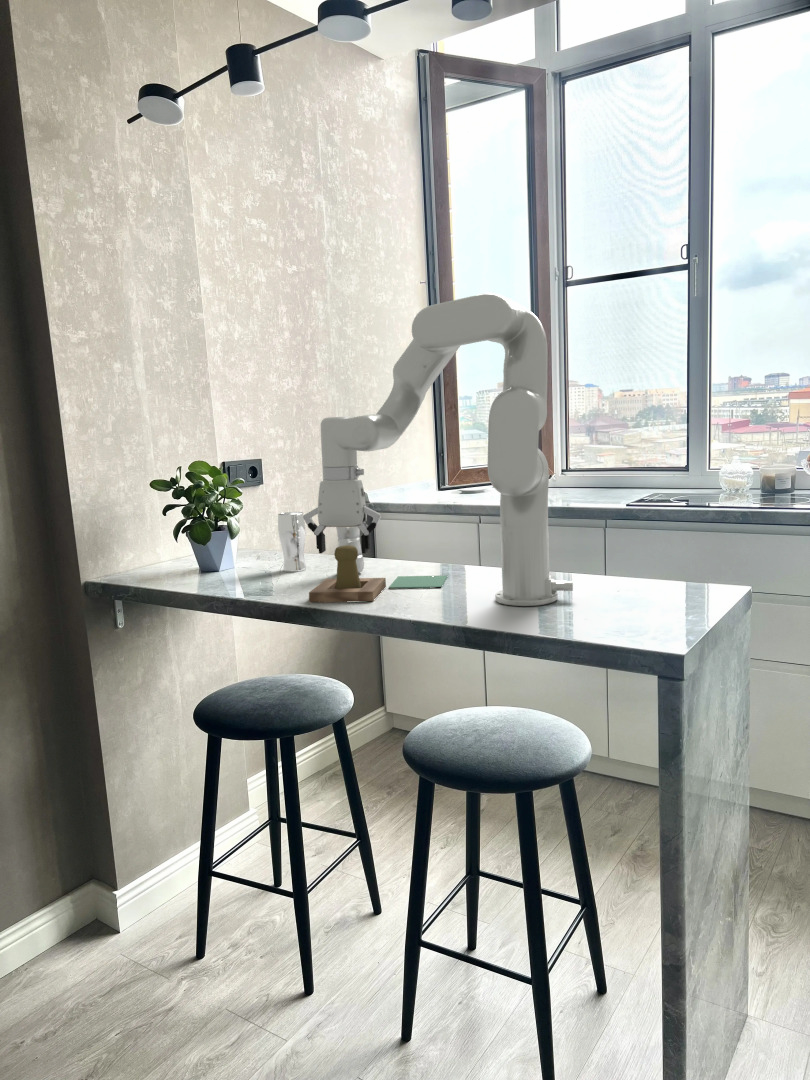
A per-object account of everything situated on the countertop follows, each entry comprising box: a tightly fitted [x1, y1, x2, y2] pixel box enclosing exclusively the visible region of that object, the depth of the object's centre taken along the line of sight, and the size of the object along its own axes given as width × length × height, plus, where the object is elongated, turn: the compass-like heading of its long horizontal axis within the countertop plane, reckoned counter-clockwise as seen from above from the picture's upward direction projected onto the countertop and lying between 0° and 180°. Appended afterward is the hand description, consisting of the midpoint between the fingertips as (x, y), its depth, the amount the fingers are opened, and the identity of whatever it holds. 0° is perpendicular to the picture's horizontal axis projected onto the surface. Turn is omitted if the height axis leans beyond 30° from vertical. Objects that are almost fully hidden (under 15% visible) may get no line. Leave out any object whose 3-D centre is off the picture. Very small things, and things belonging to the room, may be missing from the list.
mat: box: [388, 574, 448, 589], centre depth 183 cm, size 12×12×1 cm
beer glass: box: [277, 511, 307, 573], centre depth 206 cm, size 7×7×15 cm
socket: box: [308, 577, 387, 603], centre depth 174 cm, size 14×14×2 cm
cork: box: [334, 545, 361, 589], centre depth 174 cm, size 6×6×11 cm
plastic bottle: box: [335, 527, 365, 573], centre depth 196 cm, size 6×7×20 cm
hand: (343, 552), depth 173 cm, fingers open, 9 cm apart
